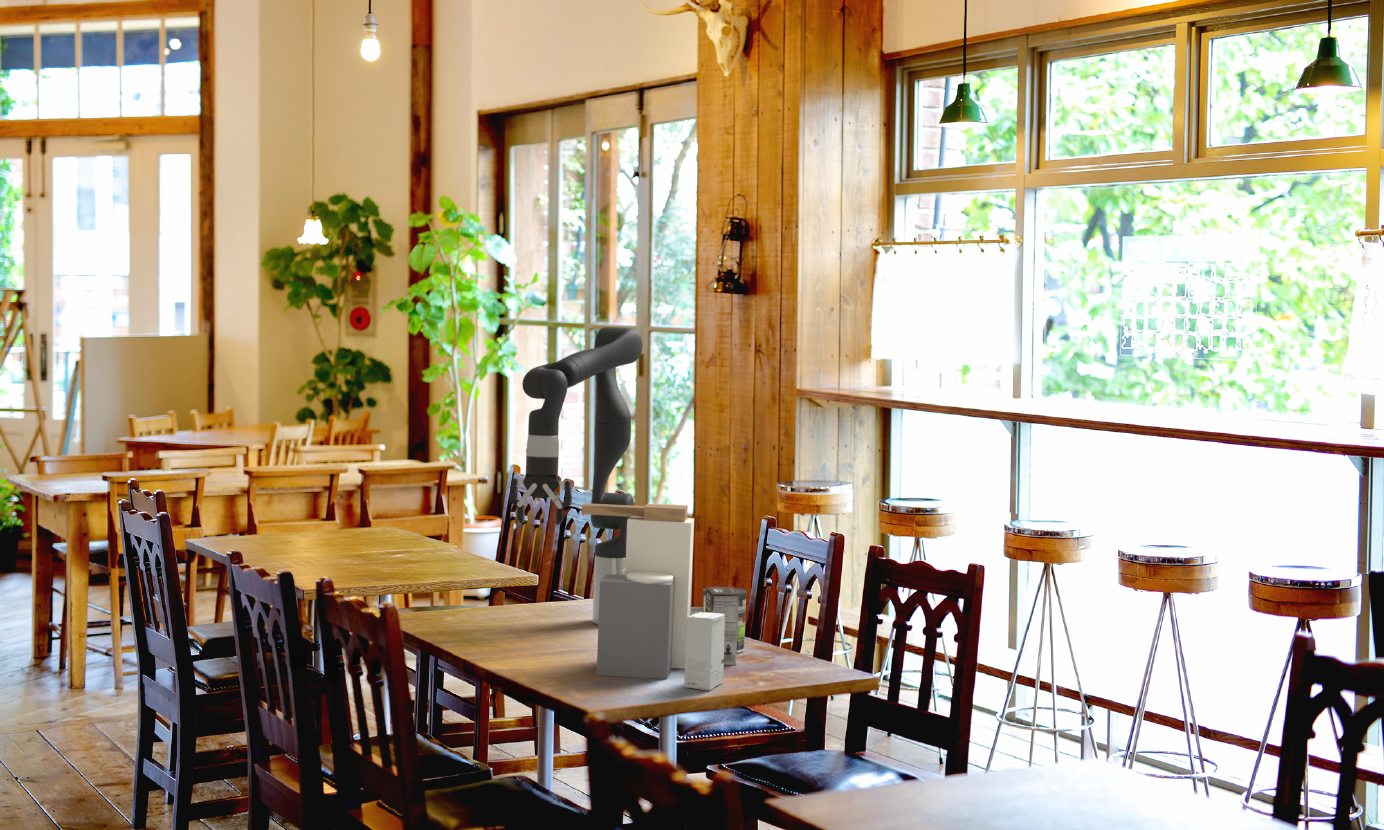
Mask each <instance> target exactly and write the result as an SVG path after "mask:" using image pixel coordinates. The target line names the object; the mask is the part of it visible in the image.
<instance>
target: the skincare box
mask: <svg viewBox="0 0 1384 830" xmlns="http://www.w3.org/2000/svg"><path fill="white" fill-rule="evenodd" d="M724 626H725V614H720V613H707V612H700V613H696V614H693V615H691V616H688V617H687V623H686V657H685V669H684V687H685V688H688V689H689V688H691V689H696V690H701V691H707V692H709V691H711V690H713V689H714V688H716V687H717V686H720V685H722V684H724V667H725V665H724Z"/></svg>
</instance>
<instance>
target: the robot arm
mask: <svg viewBox="0 0 1384 830" xmlns="http://www.w3.org/2000/svg"><path fill="white" fill-rule="evenodd" d="M643 343H644V342H643V339H642V335H641V334H640V333H639V332H638V330H636V329H635V328H634V329H633V328H631V327H615V326H613V327H612V326H606V327H605V326H604V327H601V328H600V329H599V330H598V331H597V333H596V335H595V339H594V347H593V348H588V349H584V350H580V351H577V352H574V353H571V354H569V355H567V356H565V357H563V358H560V359H559V360H558V361H554V362H551V363H546V364H543V365H538V366H536V367H533V368H531V369H530V370H528V371H527V372H526V373H525V375H524V377H523V379H522V389H523V392H524V393H525V394H526V396H528V397H529V398H532V399H535V400H537V399H538V400H544V401H543V404H542V406H541V408H537V409H533V410H531V411H530V412H529V414H528V426H527V431H528V432H527V441H526V449H525V455H526V457H525V476H524V479H523V478H519V477H514V478H512V479H511V483H510V493H509V504H510V505H515V506H516V508H517V514H516V515H517V516H516V517H517V521H519V524H524V523H525V518H526V517H525V515H526V512H525V511H526V506H525V504H526V503H527V501H528V500H530V498H531V497H532V498H533V499H534V498H536V499H537V498H541V499H548V498H550V499H551V501H552V502H553V503H554V504H555V506H556V507H557V508H556V510H555V511H556V513H555V525H557V526H559V525H561V523H562V522H563V521H564V512H565V511H564V509H565V508H567V507H569V506H571V505H572V503H573V500H572V499H573V497H572V493H573V492H572V480H570V479H568V480H559V456H560V455H559V453H560V451H559V450H560V443H559V430H560V429H559V427H560V424H559V423H560V422H559V421H560V417H561V412H562V409H563V407H564V406H563V405H564V402H565V399H566V396H567V393H568V389H569V388H572V387H574V386H576V385H579V384H581V383H582V382H583V381H585V380H588V379H589V378H592V377H595V390H596V391H595V414H594V415H595V416H594V418H595V419H594V459H593V460H594V463H593V464H594V466H593V480H592V481H593V482H592V491H591V501H590V504H607V505H628V506H635V500H634V497H633V496H632V494H630V493H625V492H623V493H621V492H606V486H607V483H608V481H609V477H610V476H611V474H612V472H613V471H614V469H615V467H616V466H617V464H618V463H619V462H620V460H621V458H622V457H623V456H624V454H625V452H626V451H627V449H628V448H629V446H630V445H631V440H632V439H631V438H632V437H631V436H632V414H631V412H630V409H629V406H628V405H627V402H626V399H624V396H623V395H622V392H621V390H620V387H619V385H618V381H617V372H616V371H617V370H616V369H617V367H621V366H625V365H630V364H633V363H635V362H637V360H639V358H640V357H641V355H642V353H643ZM522 485H523V486H524V487H525V489H526V490H527V491H525V493H524V494H523V495H522V497H521V498H520V499H518V494H519V493H518V491H519V488H521V486H522ZM559 486H560V487H561V489H562V490H563V491H564V501H563V500H562V499H561V498H560V495H559V494H558V493H557V492H556V491H557V489H558V488H559ZM629 518H630V517H629V516H608V515H590V522H591V525H592V527H593V528H595V529H601V530H602V529H604V530H619V533H618V534H617V535H616V536H615V537H612V538H610V539H608V540H605V541H601V542H598V543H596V545H595V548H594V568H593V570H594V571H593V575H594V576H593V597H592V601H593V602H592V620H591V621H592V623H593V624H595V625H598V623H599V597H600V581H601V580H602V579H603V578H604V576H605V575H606V574H617V575H625V568H626V542H627V520H628V519H629Z"/></svg>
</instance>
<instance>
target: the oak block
mask: <svg viewBox="0 0 1384 830" xmlns="http://www.w3.org/2000/svg"><path fill="white" fill-rule="evenodd" d="M688 510H689V509H688V505H686V504H683V505H682V504H665V503H647V504H645V505H634V506H628V505H607V504H591V503H583V504H582V506H581V515H589V516H591V515H608V516H629V517H644V520H648V521H668V522H685V521H686V520H687V518H688Z"/></svg>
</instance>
